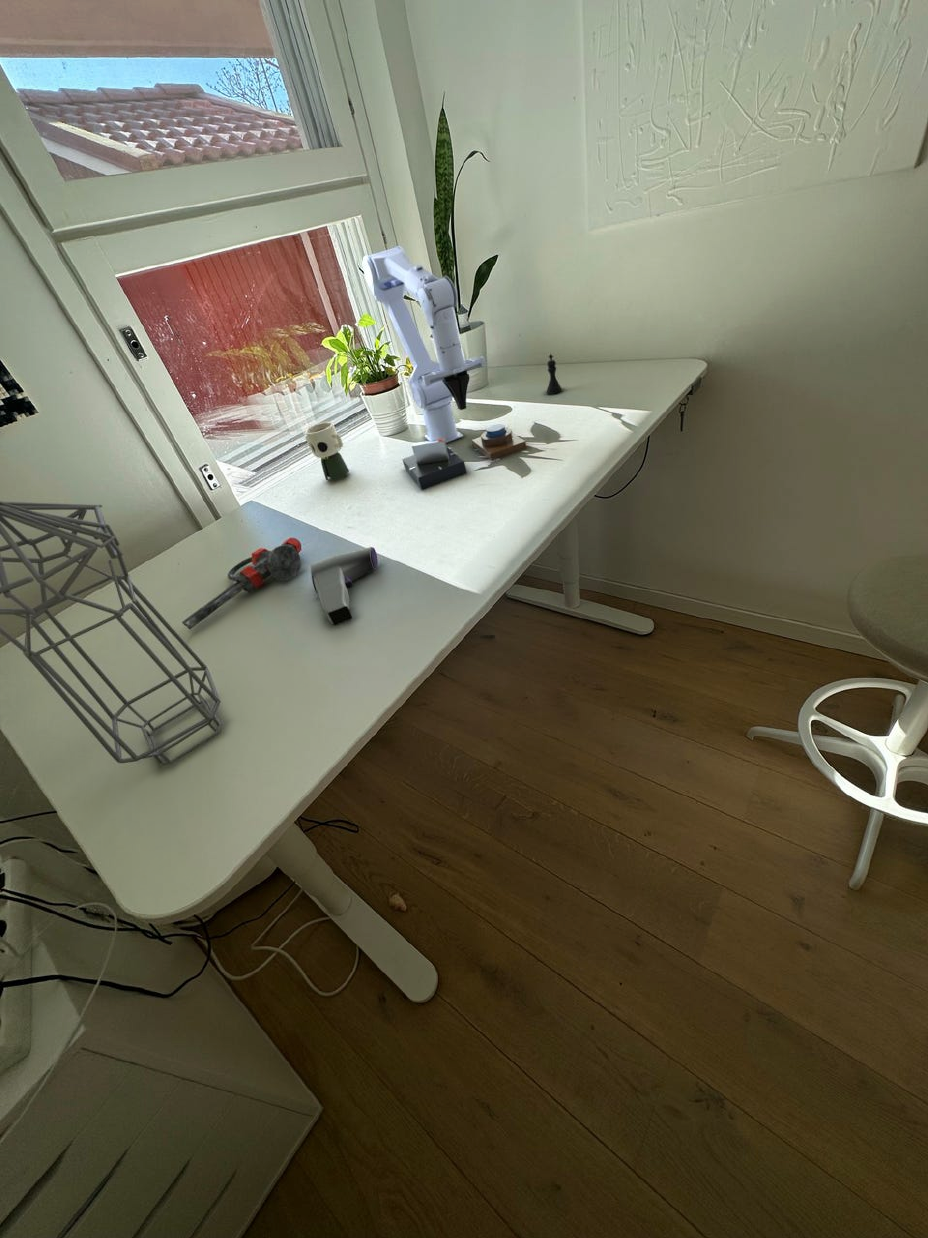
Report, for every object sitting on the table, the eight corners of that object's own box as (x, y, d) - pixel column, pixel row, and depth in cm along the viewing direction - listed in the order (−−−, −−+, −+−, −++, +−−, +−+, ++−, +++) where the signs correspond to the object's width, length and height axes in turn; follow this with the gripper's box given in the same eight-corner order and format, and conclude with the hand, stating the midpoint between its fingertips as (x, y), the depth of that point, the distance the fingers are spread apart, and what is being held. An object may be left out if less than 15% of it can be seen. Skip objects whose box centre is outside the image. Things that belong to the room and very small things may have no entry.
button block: (472, 446, 129) (470, 432, 127) (505, 434, 131) (503, 420, 128) (491, 460, 120) (488, 446, 118) (526, 448, 121) (524, 433, 119)
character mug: (313, 483, 133) (292, 434, 125) (330, 470, 138) (311, 422, 130) (346, 484, 128) (326, 432, 120) (362, 471, 133) (344, 420, 125)
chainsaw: (284, 551, 111) (321, 557, 101) (178, 628, 98) (208, 644, 88) (268, 526, 108) (304, 529, 97) (155, 602, 95) (183, 615, 85)
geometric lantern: (136, 805, 63) (-128, 572, 42) (122, 731, 74) (-92, 517, 53) (256, 731, 69) (77, 490, 47) (226, 672, 80) (71, 456, 58)
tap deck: (404, 471, 127) (400, 458, 125) (448, 455, 128) (445, 442, 126) (420, 490, 116) (416, 477, 114) (468, 473, 118) (465, 460, 116)
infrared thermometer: (329, 632, 84) (315, 582, 94) (399, 604, 85) (378, 558, 96) (318, 611, 80) (305, 562, 91) (391, 583, 82) (370, 538, 93)
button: (484, 435, 125) (483, 428, 124) (501, 429, 125) (500, 422, 124) (491, 440, 121) (490, 432, 120) (508, 434, 122) (507, 426, 121)
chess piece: (553, 388, 150) (550, 351, 144) (565, 389, 147) (562, 351, 141) (543, 393, 149) (539, 356, 142) (554, 395, 146) (550, 357, 139)
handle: (417, 464, 120) (411, 445, 117) (418, 461, 121) (413, 442, 118) (448, 460, 118) (443, 440, 115) (449, 457, 119) (444, 437, 116)
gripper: (422, 357, 108) (438, 422, 117) (485, 336, 110) (497, 401, 119) (413, 353, 114) (429, 415, 122) (473, 333, 116) (485, 396, 124)
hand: (462, 408), depth 121 cm, fingers closed
